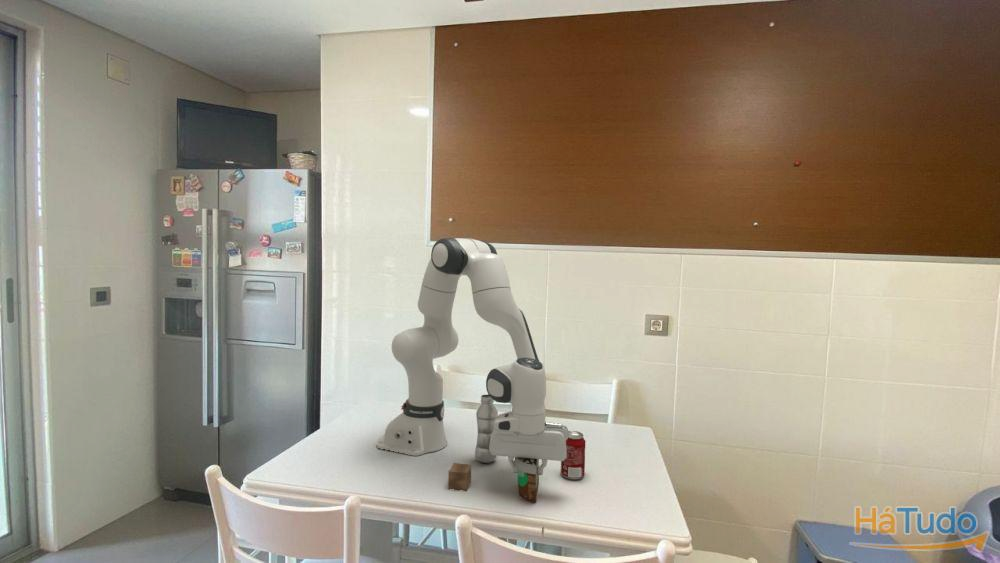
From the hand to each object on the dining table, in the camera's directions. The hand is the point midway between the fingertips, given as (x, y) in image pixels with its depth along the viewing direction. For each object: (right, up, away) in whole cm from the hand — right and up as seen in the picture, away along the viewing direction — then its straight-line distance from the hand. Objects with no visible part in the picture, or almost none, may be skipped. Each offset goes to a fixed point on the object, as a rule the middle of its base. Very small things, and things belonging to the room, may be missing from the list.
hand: (527, 473), depth 117 cm
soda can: (+13, -5, +10) cm, 18 cm away
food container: (0, -5, 0) cm, 5 cm away
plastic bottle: (-12, -4, +18) cm, 22 cm away
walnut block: (-18, -5, +3) cm, 19 cm away
